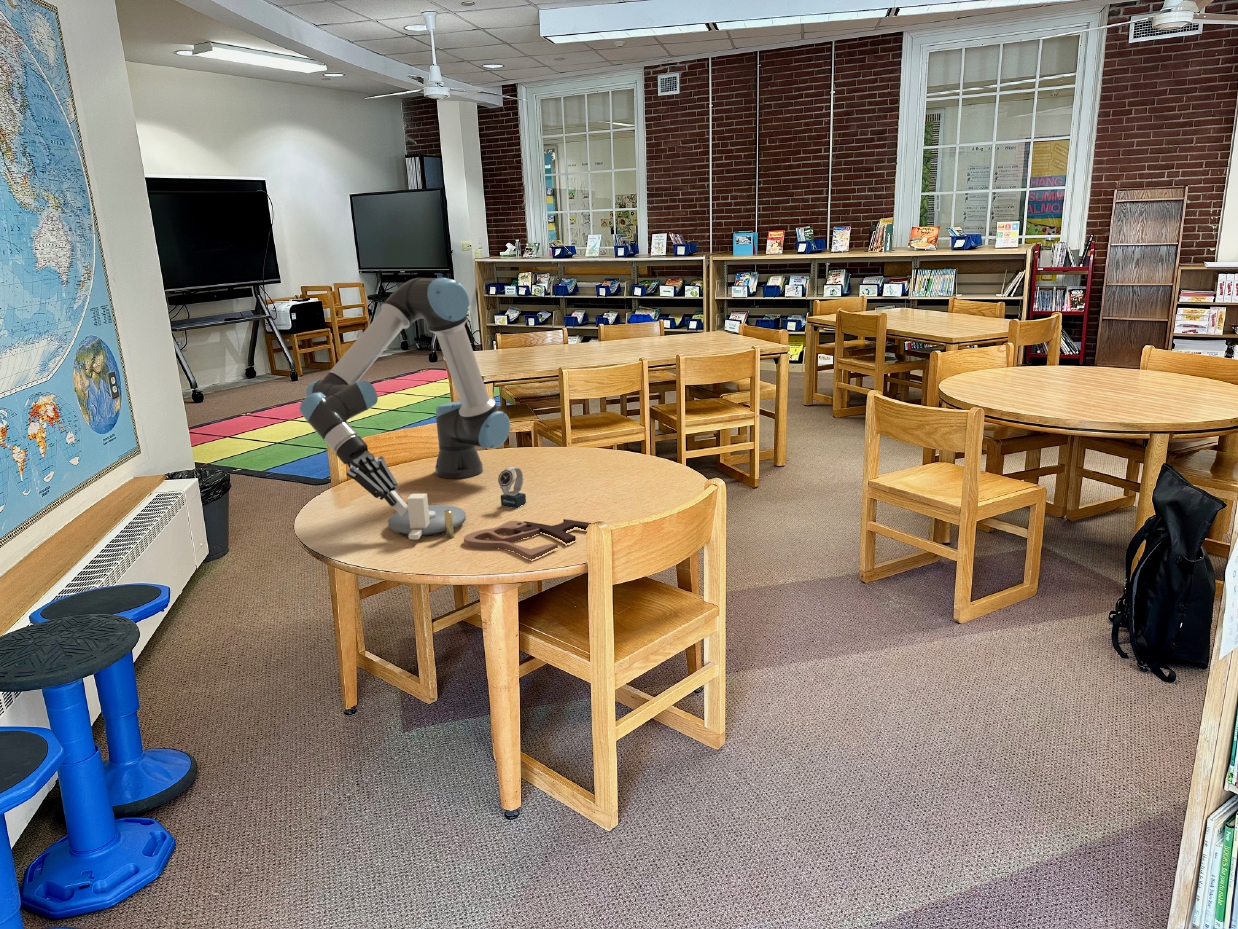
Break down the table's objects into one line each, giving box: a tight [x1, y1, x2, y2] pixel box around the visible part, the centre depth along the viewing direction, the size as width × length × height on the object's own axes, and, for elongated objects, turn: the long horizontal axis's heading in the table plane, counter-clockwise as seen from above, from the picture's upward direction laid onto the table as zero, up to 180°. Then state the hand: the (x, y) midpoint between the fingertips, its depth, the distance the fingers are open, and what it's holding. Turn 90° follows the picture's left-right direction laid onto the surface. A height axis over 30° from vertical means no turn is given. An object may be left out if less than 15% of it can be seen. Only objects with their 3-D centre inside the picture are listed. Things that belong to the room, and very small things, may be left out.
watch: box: [497, 466, 527, 509], centre depth 236 cm, size 6×8×11 cm
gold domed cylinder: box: [444, 510, 455, 540], centre depth 213 cm, size 2×2×7 cm
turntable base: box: [397, 526, 458, 538], centre depth 222 cm, size 16×16×1 cm
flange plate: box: [387, 493, 467, 540], centre depth 219 cm, size 24×20×9 cm
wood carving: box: [463, 518, 592, 560], centre depth 212 cm, size 28×2×24 cm
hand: (405, 512), depth 214 cm, fingers closed
